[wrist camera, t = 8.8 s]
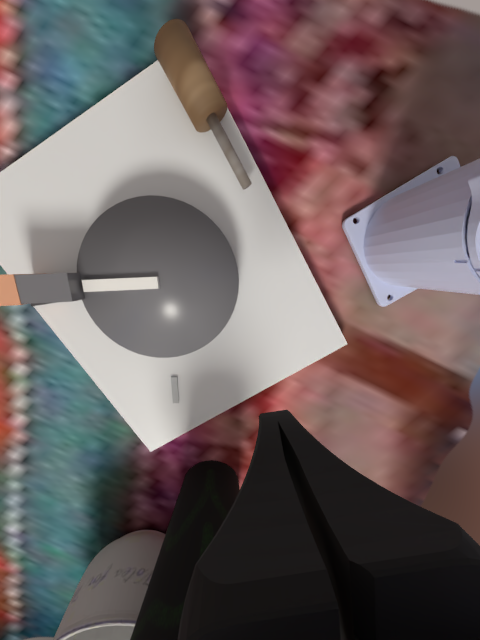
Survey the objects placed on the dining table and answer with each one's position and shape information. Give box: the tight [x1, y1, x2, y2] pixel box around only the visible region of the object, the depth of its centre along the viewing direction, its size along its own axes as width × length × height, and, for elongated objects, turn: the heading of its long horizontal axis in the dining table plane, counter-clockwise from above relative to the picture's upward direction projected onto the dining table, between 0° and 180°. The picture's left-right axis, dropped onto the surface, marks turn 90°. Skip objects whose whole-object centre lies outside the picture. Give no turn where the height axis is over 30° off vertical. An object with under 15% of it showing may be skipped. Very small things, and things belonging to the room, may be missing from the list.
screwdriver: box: [154, 19, 252, 190], centre depth 15 cm, size 9×2×2 cm, turn 30°
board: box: [0, 60, 347, 452], centre depth 19 cm, size 20×24×1 cm
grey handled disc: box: [0, 195, 239, 358], centre depth 16 cm, size 16×11×3 cm
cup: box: [130, 461, 240, 640], centre depth 18 cm, size 8×8×12 cm
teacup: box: [53, 530, 166, 640], centre depth 22 cm, size 14×11×8 cm
